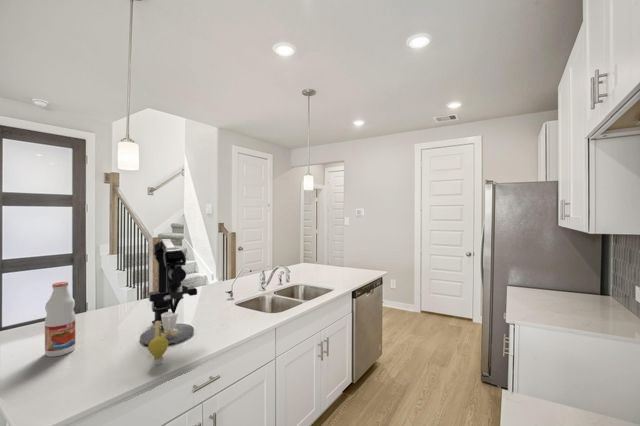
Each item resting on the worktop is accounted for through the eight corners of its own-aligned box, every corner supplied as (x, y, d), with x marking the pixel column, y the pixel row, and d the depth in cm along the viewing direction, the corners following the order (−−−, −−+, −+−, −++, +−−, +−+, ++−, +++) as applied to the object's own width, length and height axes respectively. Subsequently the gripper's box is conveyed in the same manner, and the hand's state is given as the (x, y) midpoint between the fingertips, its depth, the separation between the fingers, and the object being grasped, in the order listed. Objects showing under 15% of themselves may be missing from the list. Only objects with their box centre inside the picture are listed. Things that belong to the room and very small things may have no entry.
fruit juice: (65, 345, 128) (65, 279, 127) (81, 348, 125) (81, 281, 124) (38, 355, 119) (38, 284, 118) (55, 359, 116) (55, 286, 116)
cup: (177, 327, 144) (177, 310, 144) (177, 335, 135) (177, 317, 135) (161, 329, 141) (161, 312, 141) (160, 337, 132) (160, 319, 132)
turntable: (155, 325, 148) (155, 306, 148) (200, 325, 149) (200, 306, 149) (129, 346, 126) (129, 323, 126) (182, 345, 127) (182, 323, 127)
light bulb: (172, 360, 115) (172, 335, 115) (157, 369, 109) (157, 342, 109) (159, 357, 118) (159, 332, 118) (143, 366, 111) (144, 339, 111)
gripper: (152, 284, 120) (152, 323, 120) (200, 278, 131) (200, 314, 131) (148, 279, 129) (148, 315, 129) (194, 273, 140) (193, 307, 140)
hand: (173, 313), depth 132 cm, fingers closed
